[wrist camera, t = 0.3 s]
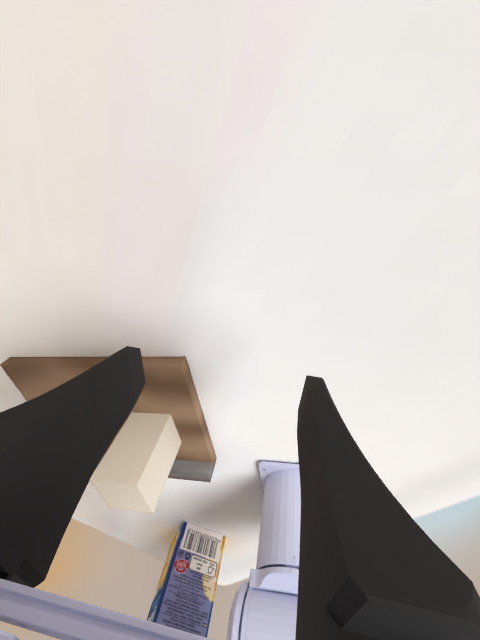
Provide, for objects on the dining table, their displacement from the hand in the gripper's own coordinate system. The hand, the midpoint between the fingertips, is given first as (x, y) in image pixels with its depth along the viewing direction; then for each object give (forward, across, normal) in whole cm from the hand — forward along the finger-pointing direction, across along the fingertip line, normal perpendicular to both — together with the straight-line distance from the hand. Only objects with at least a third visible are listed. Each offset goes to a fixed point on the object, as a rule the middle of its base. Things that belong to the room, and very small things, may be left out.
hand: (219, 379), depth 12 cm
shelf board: (+10, +14, +17) cm, 24 cm away
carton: (+9, +9, +17) cm, 21 cm away
